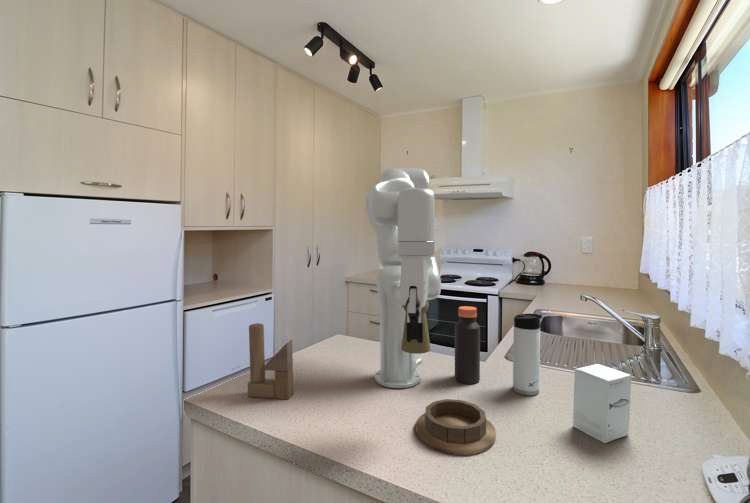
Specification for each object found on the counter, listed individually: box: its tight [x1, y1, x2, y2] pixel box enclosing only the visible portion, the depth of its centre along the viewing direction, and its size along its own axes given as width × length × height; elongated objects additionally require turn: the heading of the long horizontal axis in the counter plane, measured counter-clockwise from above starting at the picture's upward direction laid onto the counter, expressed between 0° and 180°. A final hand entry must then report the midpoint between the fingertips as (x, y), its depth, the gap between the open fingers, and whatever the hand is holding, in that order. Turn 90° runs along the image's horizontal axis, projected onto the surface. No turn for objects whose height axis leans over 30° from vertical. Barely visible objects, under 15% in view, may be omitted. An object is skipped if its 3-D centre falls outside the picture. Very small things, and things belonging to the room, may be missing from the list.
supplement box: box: [572, 363, 632, 444], centre depth 76 cm, size 7×7×13 cm
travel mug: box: [512, 313, 543, 397], centre depth 95 cm, size 6×7×20 cm
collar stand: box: [415, 398, 497, 456], centre depth 77 cm, size 16×16×4 cm
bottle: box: [454, 305, 481, 385], centre depth 103 cm, size 7×7×20 cm
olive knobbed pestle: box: [401, 300, 432, 355], centre depth 77 cm, size 6×6×11 cm
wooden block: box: [247, 323, 294, 400], centre depth 94 cm, size 4×11×18 cm, turn 82°
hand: (416, 337), depth 77 cm, fingers closed on olive knobbed pestle, 4 cm apart
